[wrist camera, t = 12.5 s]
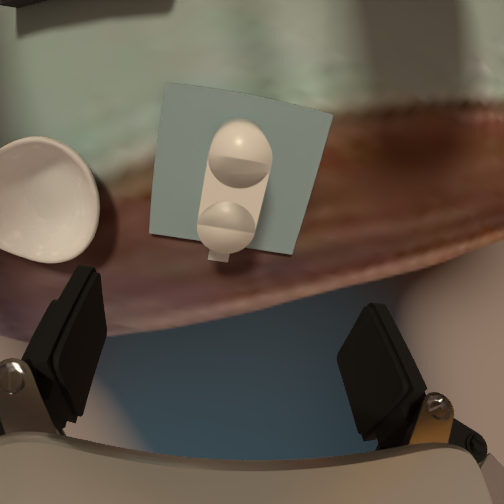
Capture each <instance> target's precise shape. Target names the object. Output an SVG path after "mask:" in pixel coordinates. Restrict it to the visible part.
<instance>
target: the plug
mask: <svg viewBox="0 0 504 504" xmlns="http://www.w3.org/2000/svg"><path fill="white" fill-rule="evenodd" d="M272 159H273V156H272V150H271V147H270V145H269V143H268V141H267V139H266V137H265V135H264V133H263V131H262V129H261V128H260V127H259V125H258V124H256V123H255V122H254V121H252V120H250V119H247V118H242V117H237V118H232V119H229V120H227V121H225V122H223V123H222V124H221V125H220V126H219V127H218V128H217V130H216V132H215V134H214V137H213V140H212V144H211V147H210V150H209V154H208V160H207V166H206V171H205V177H204V183H203V189H202V196H201V202H200V208H199V215H198V221H197V233H198V236H199V238H200V240H201V242H202V243H203V244H204V245H205V246H206V247H207V248H209V255H208V260H215V261H221V262H228V259H229V254H230V253H235V252H238V251H240V250H242V249H244V248H245V247H246V246H247V245H248V244H249V243H250V242H251V241H252V239H253V237H254V234H255V230H256V226H257V222H258V218H259V214H260V210H261V206H262V202H263V198H264V194H265V190H266V186H267V182H268V178H269V174H270V170H271V166H272Z"/></svg>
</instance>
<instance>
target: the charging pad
mask: <svg viewBox="0 0 504 504" xmlns="http://www.w3.org/2000/svg"><path fill="white" fill-rule="evenodd" d="M237 117H242V118H247V119H250V120H252V121H254V122H255V123H256V124H258V125H259V127H260V128H261V129H262V131H263V133H264V135H265V137H266V139H267V141H268V143H269V145H270V147H271V150H272V156H273V159H272V166H271V170H270V174H269V178H268V182H267V186H266V190H265V194H264V198H263V202H262V206H261V210H260V214H259V218H258V222H257V226H256V230H255V234H254V237H253V239H252V241H251V242H250V243H249V244H248V245H247V246H246V247H245V248H251V249H258V250H264V251H271V252H277V253H284V254H291V255H292V253H293V250H294V247H295V243H296V240H297V237H298V234H299V231H300V227H301V224H302V221H303V218H304V214H305V211H306V208H307V205H308V201H309V198H310V195H311V191H312V188H313V185H314V181H315V178H316V174H317V171H318V168H319V164H320V161H321V157H322V154H323V150H324V147H325V143H326V140H327V136H328V132H329V129H330V125H331V121H332V118H333V115H332V114H329V113H326V112H322V111H319V110H315V109H311V108H307V107H304V106H300V105H296V104H291V103H287V102H283V101H278V100H274V99H269V98H265V97H260V96H255V95H250V94H244V93H239V92H233V91H227V90H221V89H215V88H208V87H201V86H193V85H185V84H176V83H166V85H165V91H164V97H163V103H162V110H161V117H160V124H159V131H158V139H157V147H156V156H155V166H154V176H153V186H152V198H151V212H150V228H149V233H151V234H158V235H165V236H171V237H178V238H185V239H191V240H198V241H201V240H200V238H199V236H198V233H197V221H198V215H199V208H200V202H201V196H202V189H203V183H204V177H205V171H206V166H207V160H208V154H209V150H210V147H211V144H212V140H213V137H214V134H215V132H216V130H217V128H218V127H219V126H220V125H221V124H222V123H223V122H225V121H227V120H229V119H232V118H237Z"/></svg>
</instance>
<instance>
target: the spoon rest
mask: <svg viewBox="0 0 504 504" xmlns="http://www.w3.org/2000/svg"><path fill="white" fill-rule="evenodd" d="M99 215H100V199H99V192H98V188H97V185H96V181H95V179H94V176H93V174H92V172H91V169H90V168H89V166H88V165H87V163H86V162H85V160H84V159H83V158H82V157H81V156H80V154H78V153H77V152H76V151H75V150H74V149H73V148H71V147H70V146H68V145H67V144H65V143H63V142H61V141H58V140H56V139H53V138H49V137H43V136H33V137H26V138H22V139H19V140H16V141H13V142H11V143H9V144H7V145H5V146H3V147H1V148H0V249H2V250H4V251H7V252H9V253H12V254H14V255H17V256H20V257H23V258H26V259H29V260H32V261H36V262H42V263H60V262H65V261H69V260H71V259H73V258H75V257H77V256H78V255H80V254H81V253H82V252H83V251H84V250H85V249H86V248H87V247H88V246H89V244H90V243H91V242H92V240H93V238H94V236H95V233H96V230H97V227H98V222H99Z"/></svg>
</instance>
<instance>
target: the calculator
mask: <svg viewBox="0 0 504 504" xmlns="http://www.w3.org/2000/svg"><path fill="white" fill-rule="evenodd" d="M43 1H47V0H0V5H3V6H9V7H16V8H20V7H24V6H27V5H31V4H35V3H39V2H43Z"/></svg>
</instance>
